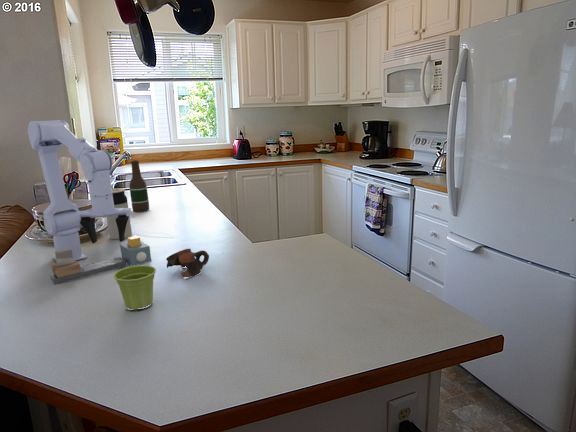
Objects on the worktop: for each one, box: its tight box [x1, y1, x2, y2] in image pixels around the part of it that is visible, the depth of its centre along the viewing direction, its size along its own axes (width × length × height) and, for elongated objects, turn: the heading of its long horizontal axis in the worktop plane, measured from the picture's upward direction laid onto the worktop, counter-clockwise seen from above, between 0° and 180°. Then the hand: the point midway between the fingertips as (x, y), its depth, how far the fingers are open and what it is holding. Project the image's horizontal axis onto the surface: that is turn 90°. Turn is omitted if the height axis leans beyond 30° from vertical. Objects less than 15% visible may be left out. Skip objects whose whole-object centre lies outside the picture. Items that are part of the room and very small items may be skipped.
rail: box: [49, 256, 128, 285], centre depth 125 cm, size 5×20×2 cm, turn 130°
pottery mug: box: [165, 248, 210, 278], centre depth 121 cm, size 12×10×8 cm
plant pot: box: [113, 264, 157, 309], centre depth 100 cm, size 9×9×9 cm
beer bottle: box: [128, 159, 150, 213], centre depth 200 cm, size 8×8×24 cm
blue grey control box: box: [119, 241, 152, 267], centre depth 133 cm, size 9×6×5 cm, turn 40°
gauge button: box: [126, 235, 142, 248], centre depth 132 cm, size 3×3×4 cm
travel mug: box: [106, 187, 133, 240], centre depth 158 cm, size 8×8×18 cm
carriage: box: [51, 248, 81, 278], centre depth 120 cm, size 6×6×6 cm
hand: (108, 241), depth 121 cm, fingers open, 7 cm apart
